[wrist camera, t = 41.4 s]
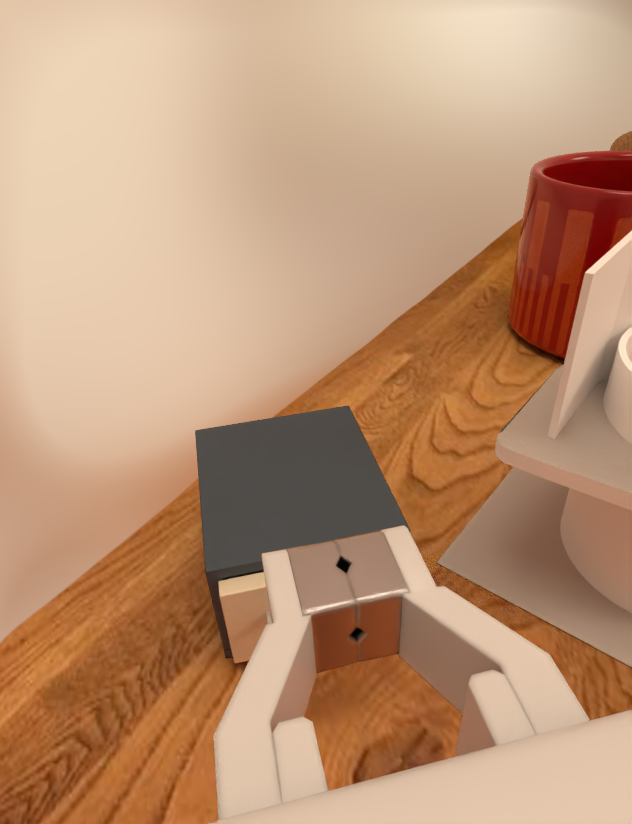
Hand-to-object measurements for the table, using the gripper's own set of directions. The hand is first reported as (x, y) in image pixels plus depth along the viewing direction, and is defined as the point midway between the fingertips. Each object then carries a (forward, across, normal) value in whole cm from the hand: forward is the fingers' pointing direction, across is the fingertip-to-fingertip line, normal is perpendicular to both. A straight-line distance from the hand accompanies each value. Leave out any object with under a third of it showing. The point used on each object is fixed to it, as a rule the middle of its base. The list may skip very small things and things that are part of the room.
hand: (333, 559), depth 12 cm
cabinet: (+23, -2, +26) cm, 35 cm away
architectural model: (+20, -30, +26) cm, 45 cm away
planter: (+51, -48, +26) cm, 75 cm away
